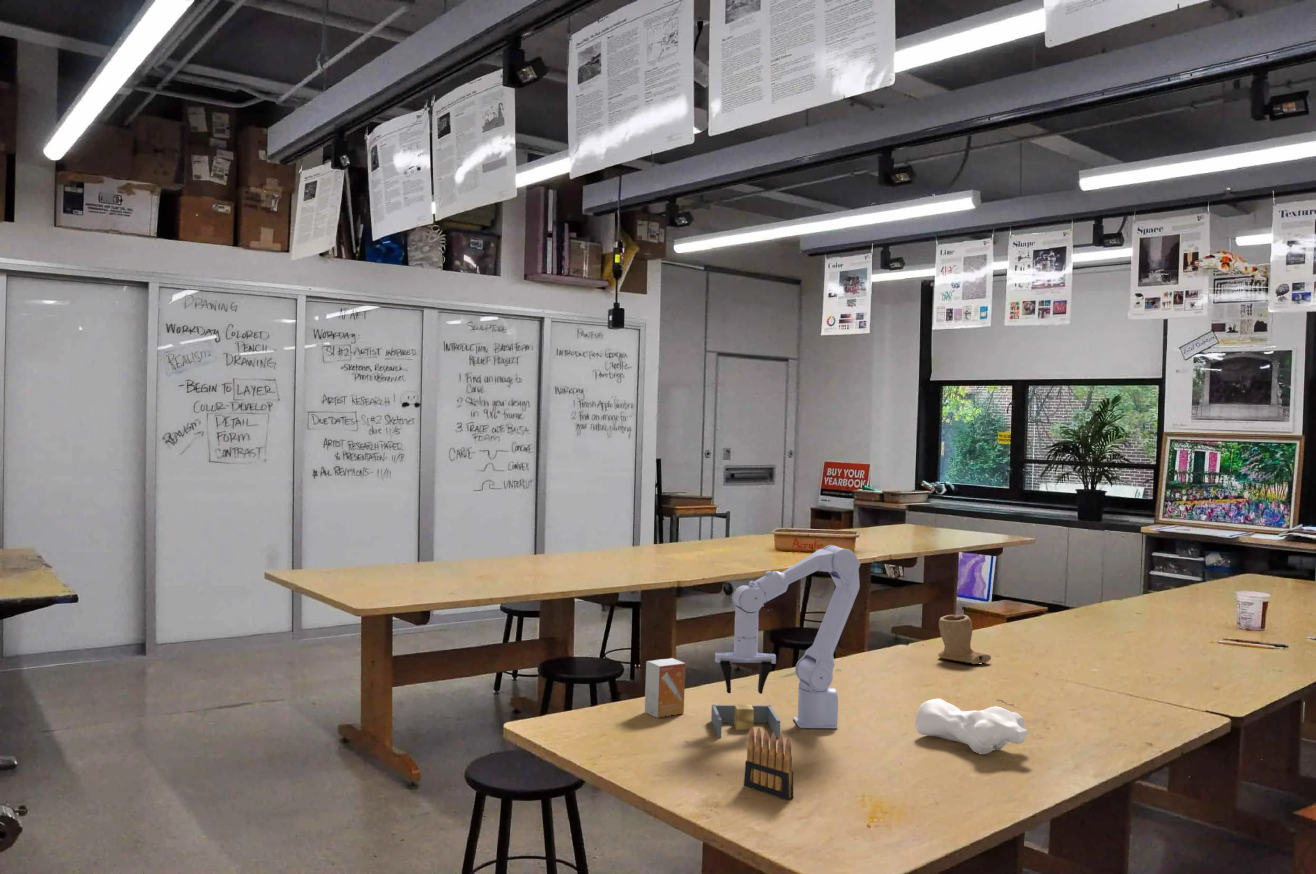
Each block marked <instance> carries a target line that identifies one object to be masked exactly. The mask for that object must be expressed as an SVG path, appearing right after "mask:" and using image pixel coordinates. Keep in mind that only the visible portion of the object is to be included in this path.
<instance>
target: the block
mask: <svg viewBox="0 0 1316 874" xmlns="http://www.w3.org/2000/svg"><path fill="white" fill-rule="evenodd" d="M734 705H735V718H734V722H733V724H734V727H735V729H736V731H750V728H751V726H753V727H754V722H753V720H754V709H753V707H752V705H753V704H734Z"/></svg>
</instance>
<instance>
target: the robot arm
mask: <svg viewBox="0 0 1316 874" xmlns="http://www.w3.org/2000/svg"><path fill="white" fill-rule="evenodd" d="M860 567H861V562H860V561H859V559H858V556H857V555H856V554H855V552H854V551H852V550H851V549H848V548H842V547H840V546H837V545H835V544H829V545H826V546H824V547H823V548H819V549H817V550H815V551H814V552H813V553H812V554H810V555H808V556H806V557H805V558H803V559H802V560H800V561H798V562H796V563H795V564H794V565H791V566H790V567H788V568H787V569H784V570H783V571H782V572H780V571H778V570H773V571H772V570H767V571H766V572H765V575H763V576H762V577H760V578H758V579H756V580H755V581H754V580H750V581H748V585H741V586H738V587H736V589H735V591H734V592H733V595H732V596H731V600H732V603H733V605H734V606H735V608H734V611H735V612H734V614H735V615H734V632H733V633H734V634H733V635H734V640H733V651H732V652H715V654H714V655H715V657H714V662H715V663H716V664H718V663H719V666H720V668H721V671H722V673H723V676H724V680H725V686H726V693H727V694H732V693H731V692H732V683H731V682H732V680H731V679H732V678H731V677H732V666H731V665H732V664H731V663H746V664H747V663H748V664H749V663H752V664H753V663H755V664H756V663H757V664H758V684H757V692H758V693H759V694H761V695H762V694H763V692H764V688H765V687H764V686H765V683H766V681H767V678H768V677H769V674H770V673H771V672H772V671H771V670H772V668H773V665H772V664H774V665H775V664H776V663H777V655H776V654H775V653H762V652H758V651H759V650H758V649H759V648H758V646H759V645H758V644H759V619H760V618H759V612H760V610H761V608H762V607H763V604H766V603H767V602H769V601H771V600H773V599H775V598H777V597H778V596H780V595H783V594H784V593H786V592H787V590H788V588H789V585H790V584H793V583H794V582H797V581H798V580H801V579H803V578H805V577H807V576H809V575H811V574H813V573H815V572H827V573H828V574H829V575H830V576H831V579H832V581H833V583H834V585H835V589H834V591H833V594H832V596H831V598H830V602H829V604H828V606H827V609H826V612H825V614H824V616H823V619H822V621H821V624H820V626H819V628H818V631H817V633H816V636H815V638H814V641H813V643H812V645H811V646H810V647H808V648H807V649H806V650H805V652H804V654H803V656H802V657H801V658H800V659H799V660H798V661H797V663H796V664H795V670H794V671H795V675H796V677H797V678H798V680H799V681H798V682H799V683H798V692H797V693H798V695H797V697H798V699H797V700H798V701H797V716H793V720H794V721H795V723H796V725H797V726H798V727H799V728H800V729H838V728H839V725H838V722H839V721H838V718H839V711H838V710H839V697H838V692H837V689H836V688H834V687H831V684H832V682H833V678H834V677H833V674H834V673H833V671H834V667H835V663H836V662H835V659H834V654H835V651H836V647H837V645H838V643H839V641H840V637H841V635H842V633H843V630H844V628H845V626H846V623H847V621H848V619H849V615H850V613H851V611H852V609H853V606H854V603H855V600H856V598H857V595H858V593H859V590H860V588H861V587H860V573H859V569H860Z"/></svg>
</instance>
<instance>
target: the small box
mask: <svg viewBox="0 0 1316 874" xmlns="http://www.w3.org/2000/svg"><path fill="white" fill-rule="evenodd" d="M685 684H686V662H683V661H681V660H678V659H675V658H673V657H669V658H661V659H654V660H647V661H645V686H644V687H645V692H644V713H645V714H648V715H650V716H653V717H654V718H657V719H660V717H661V718H665V716H666V717H672V716H671V715H674V716H678V715H677V714H682V715H684V714H685V713H684V712H685V710H684V709H685V691H686V690H685V687H686V685H685Z"/></svg>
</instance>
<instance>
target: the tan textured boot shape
mask: <svg viewBox="0 0 1316 874" xmlns="http://www.w3.org/2000/svg"><path fill="white" fill-rule="evenodd" d="M938 628H939V633H940V637H941V639H942V642H943V645H944V648H943V650H942V651H941V652H938V653H937V655H938V657H939V658H941V659H945V660H950V661H953V662H958V661H959V662H958V663H963V662H965V663H964V664H969V663H971V665H975V664H979V663H984V664H986V663H988V662H989V661H991V659H992V656H991V655H989V654H988V653H987V654H986V653H981V652H978V651H977V652H976V651H974V650H973V649H972V647H971V643H972V636H973V621H972V620H971V618H970V616H969V615H966V614H959V615H957V614H947V615H943V616H941V617H940V618H939V620H938Z"/></svg>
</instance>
